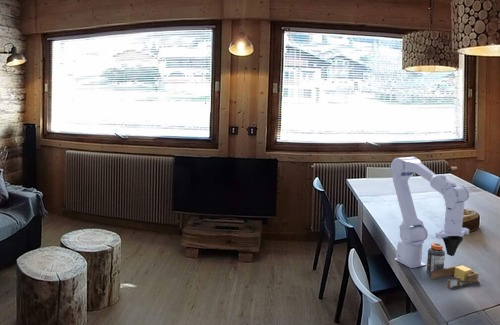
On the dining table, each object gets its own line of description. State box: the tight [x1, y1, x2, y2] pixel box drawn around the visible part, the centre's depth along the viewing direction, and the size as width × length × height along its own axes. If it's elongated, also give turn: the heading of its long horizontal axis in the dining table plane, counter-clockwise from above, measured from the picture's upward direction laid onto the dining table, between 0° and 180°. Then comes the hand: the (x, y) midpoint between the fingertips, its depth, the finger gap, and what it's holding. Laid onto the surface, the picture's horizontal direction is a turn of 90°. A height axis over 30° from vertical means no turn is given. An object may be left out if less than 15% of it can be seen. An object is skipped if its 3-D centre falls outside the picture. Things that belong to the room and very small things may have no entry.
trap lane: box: [430, 264, 480, 290], centre depth 144 cm, size 9×15×3 cm, turn 112°
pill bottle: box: [426, 242, 446, 274], centre depth 150 cm, size 6×6×11 cm
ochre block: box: [453, 264, 473, 282], centre depth 146 cm, size 4×4×4 cm
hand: (450, 254), depth 141 cm, fingers closed
